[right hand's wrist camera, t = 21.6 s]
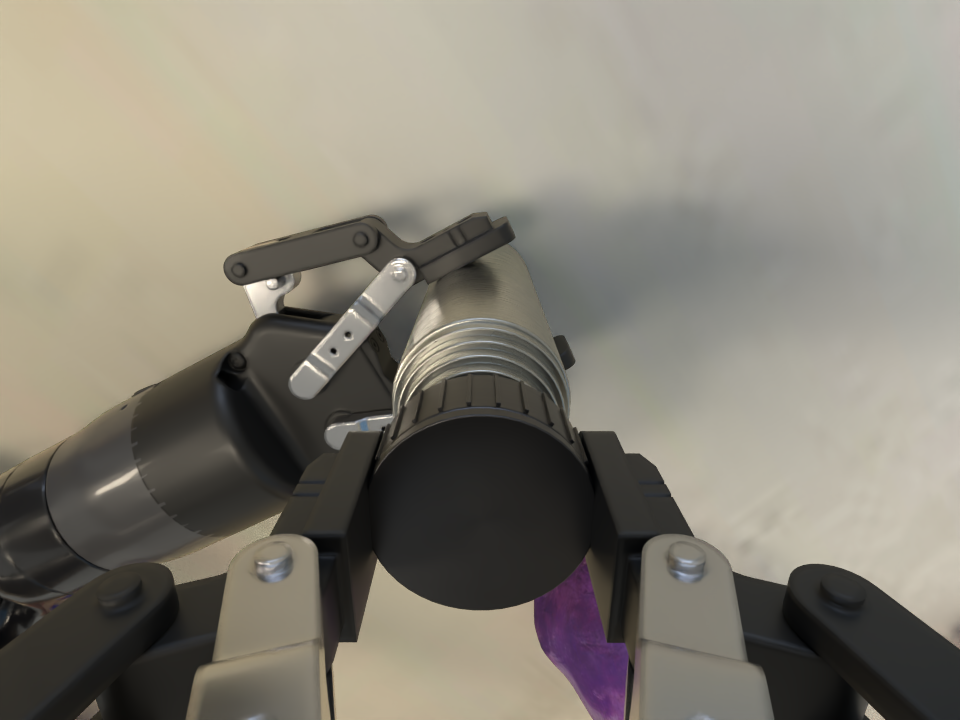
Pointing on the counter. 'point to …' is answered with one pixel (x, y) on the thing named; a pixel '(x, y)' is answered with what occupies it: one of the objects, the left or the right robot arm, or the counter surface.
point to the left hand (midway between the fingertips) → (539, 290)
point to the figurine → (582, 645)
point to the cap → (481, 494)
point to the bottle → (482, 332)
